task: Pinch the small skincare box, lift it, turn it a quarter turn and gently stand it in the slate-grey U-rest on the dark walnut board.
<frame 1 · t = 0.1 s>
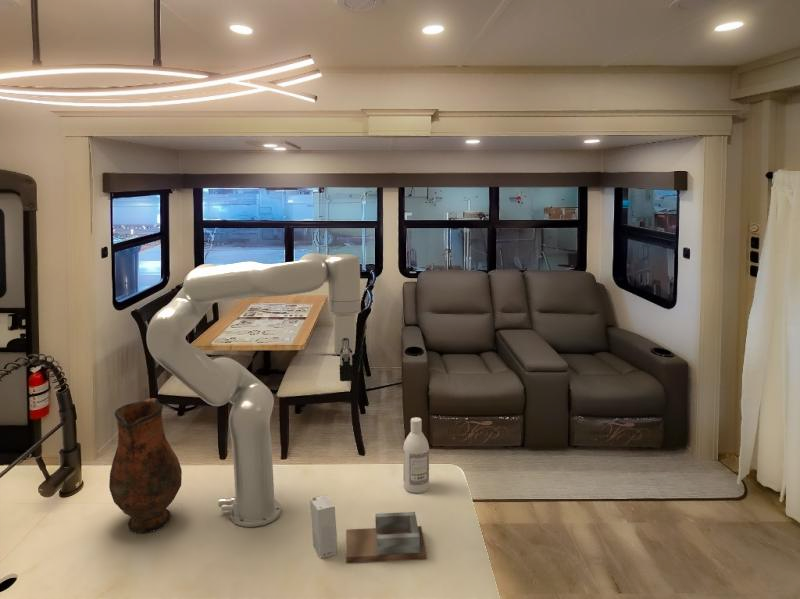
hand: (346, 374, 157), 37 cm above the table, tool pointing down, fingers open, 9 cm apart
bath foam: (416, 488, 176), on the table
u rest: (385, 546, 149), on the table
pitcher: (152, 517, 162), on the table
skincare box: (324, 550, 148), on the table
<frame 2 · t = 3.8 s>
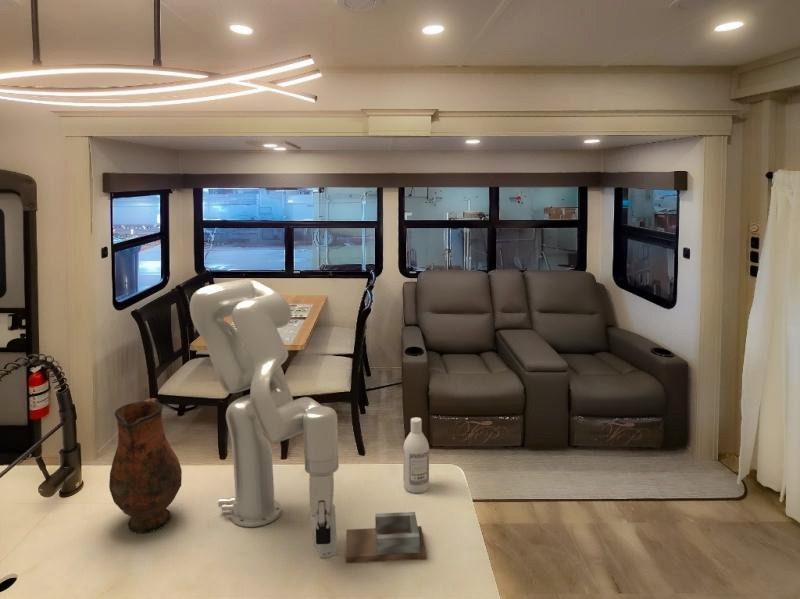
hand: (324, 533, 147), 4 cm above the table, tool pointing down, fingers closed on skincare box, 7 cm apart
skincare box: (324, 550, 148), on the table, touching gripper
everything else where it was.
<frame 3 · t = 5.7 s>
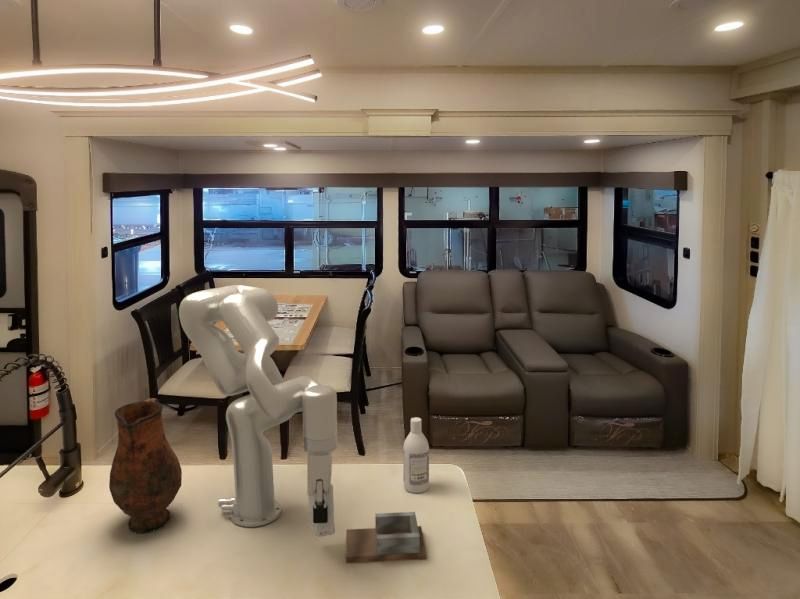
hand: (321, 512, 146), 9 cm above the table, tool pointing down, fingers closed on skincare box, 7 cm apart
skincare box: (321, 529, 148), point 5 cm above the table, touching gripper
everything else where it was.
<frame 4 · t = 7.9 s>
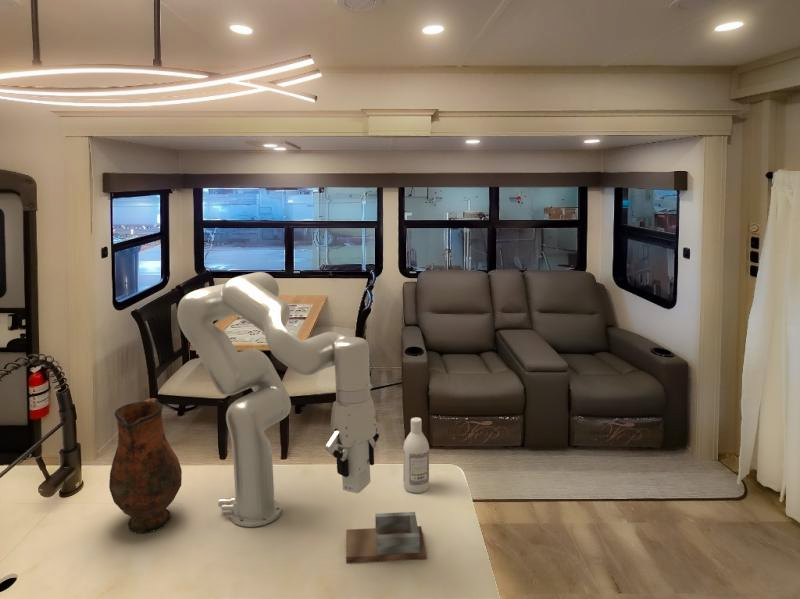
hand: (356, 468, 144), 20 cm above the table, tool pointing down, fingers closed on skincare box, 7 cm apart
skincare box: (356, 486, 145), point 16 cm above the table, touching gripper
everything else where it was.
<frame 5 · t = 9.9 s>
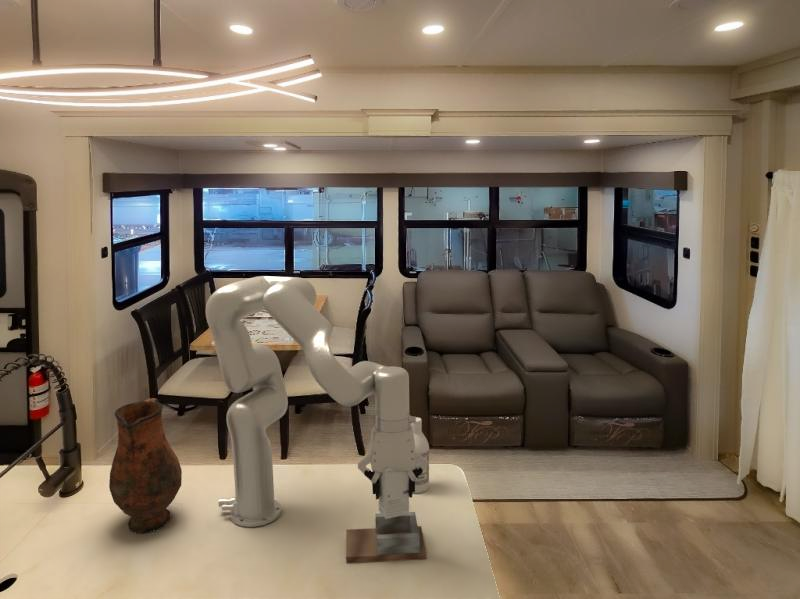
hand: (393, 495, 146), 13 cm above the table, tool pointing down, fingers closed on skincare box, 7 cm apart
skincare box: (394, 512, 147), point 9 cm above the table, touching gripper
everything else where it was.
when the fingers open (7 cm above the table, at t = 11.9 s): skincare box stays where it is, resting on u rest.
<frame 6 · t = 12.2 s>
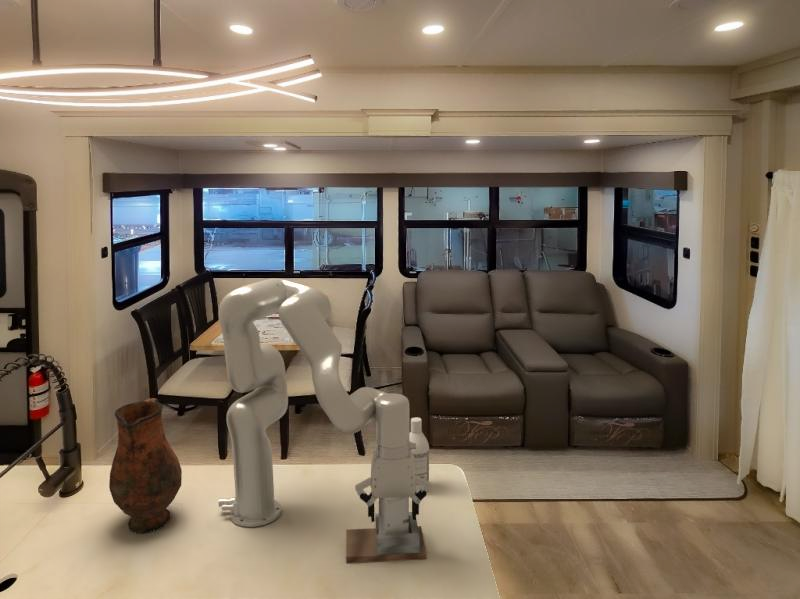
hand: (393, 517, 148), 7 cm above the table, tool pointing down, fingers open, 9 cm apart
skincare box: (394, 541, 149), point 1 cm above the table, touching u rest
everything else where it was.
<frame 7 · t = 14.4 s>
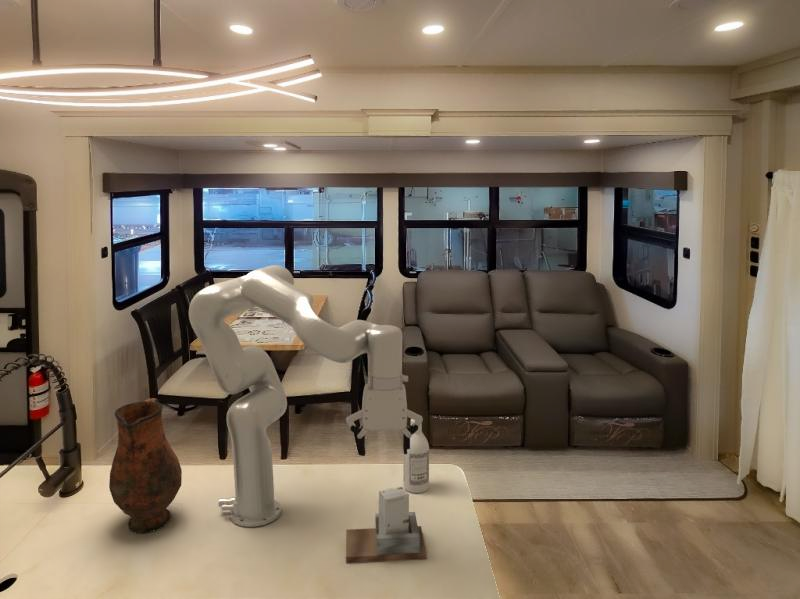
hand: (384, 452, 146), 23 cm above the table, tool pointing down, fingers open, 9 cm apart
nothing on the table moved.
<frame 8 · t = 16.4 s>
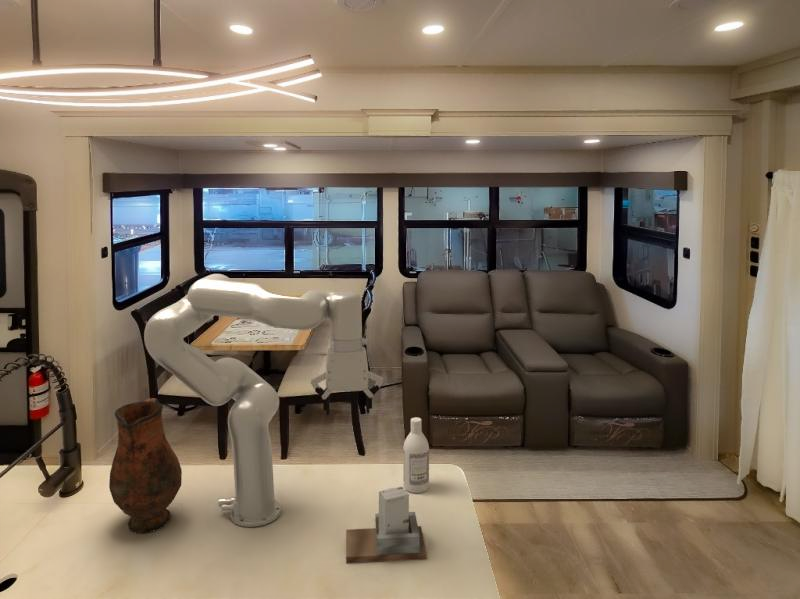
hand: (348, 412, 155), 28 cm above the table, tool pointing down, fingers open, 9 cm apart
nothing on the table moved.
at the end: skincare box 0.1 cm from the target spot on the u rest, point 1.3 cm above the u rest's base; skincare box tilted 0°; the gripper is holding nothing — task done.
